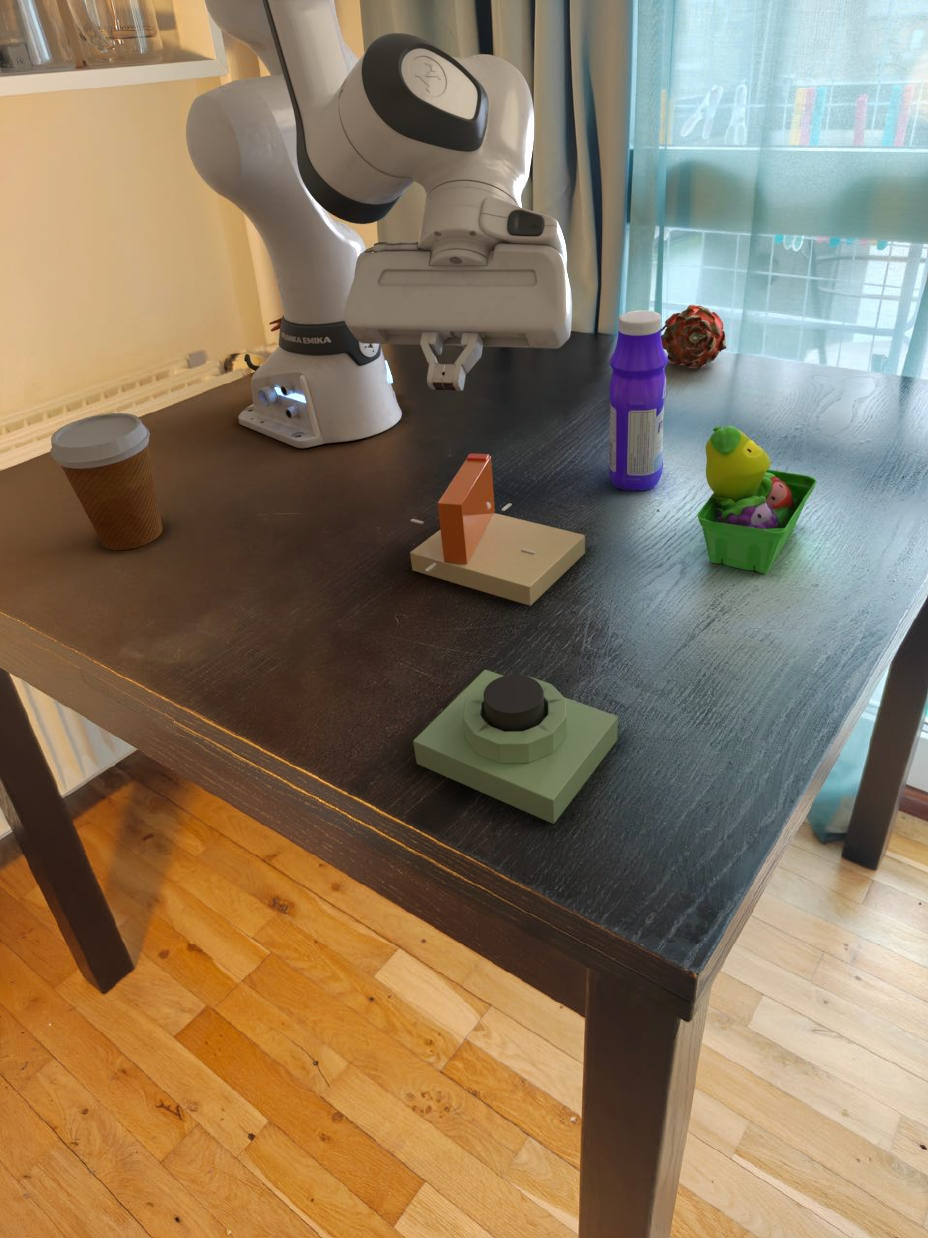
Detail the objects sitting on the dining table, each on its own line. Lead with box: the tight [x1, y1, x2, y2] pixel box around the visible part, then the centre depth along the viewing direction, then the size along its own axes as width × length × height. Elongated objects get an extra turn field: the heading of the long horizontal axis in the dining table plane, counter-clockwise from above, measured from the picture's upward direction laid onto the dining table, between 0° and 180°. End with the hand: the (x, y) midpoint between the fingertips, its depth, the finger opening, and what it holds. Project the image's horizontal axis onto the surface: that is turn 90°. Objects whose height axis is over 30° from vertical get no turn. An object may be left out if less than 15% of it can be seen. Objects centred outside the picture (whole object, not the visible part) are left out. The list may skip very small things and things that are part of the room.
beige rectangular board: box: [409, 502, 586, 606], centre depth 83 cm, size 17×14×2 cm
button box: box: [412, 669, 619, 825], centre depth 60 cm, size 11×9×4 cm
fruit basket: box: [697, 425, 818, 575], centre depth 78 cm, size 11×9×11 cm
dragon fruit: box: [661, 304, 727, 370], centre depth 120 cm, size 8×8×12 cm
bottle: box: [608, 309, 669, 491], centre depth 89 cm, size 7×6×17 cm
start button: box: [483, 674, 544, 732], centre depth 58 cm, size 4×4×2 cm
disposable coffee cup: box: [49, 412, 163, 551], centre depth 90 cm, size 10×10×12 cm
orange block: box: [437, 453, 496, 564], centre depth 81 cm, size 10×2×6 cm, turn 164°
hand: (444, 387), depth 76 cm, fingers closed
